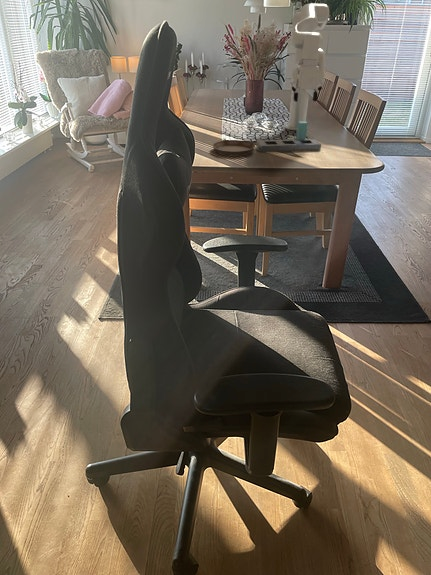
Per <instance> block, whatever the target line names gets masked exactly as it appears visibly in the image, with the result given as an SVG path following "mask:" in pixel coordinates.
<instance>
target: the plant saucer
mask: <svg viewBox="0 0 431 575" xmlns="http://www.w3.org/2000/svg"><path fill="white" fill-rule="evenodd" d="M212 148H213V149H214V151H215V152H216V153H217V154H219V155H222V156H225V157H226V156H229V157H242V156H246V155H249V154H250V153H252V151H254V150H255V148H256V144H254V142H251V141H248V140H247V141H246V140H240V139H230V140H229V139H228V140H219V141H216V142H214V143H213V144H212Z"/></svg>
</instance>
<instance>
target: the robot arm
mask: <svg viewBox="0 0 431 575" xmlns="http://www.w3.org/2000/svg"><path fill="white" fill-rule="evenodd" d="M329 18H330V8H329V6H328V5H327V4H326V3H306V4H304V5H303V6H302V7H301V9H300V11H297V12H296V13H294V15H293V17H292V34H291V45H292V47H293V49H295V53H294V55H295V57H294V61H295V65H296V66H297V67H296V68H294V69H293V70H292V72H291V82H289V86H290V89H291V95H290V105H289V116H288V117H289V118H288V123H287V124H285V128H286V129H287V130H291V131H297V124H298V121H306V122H307V114H308V107H309V106H308V104H309V93H308V91H307V90H313V92H312V93H313V94H312V95H313V96H312V101H313V102H316V101H317V100H318V96H319V95H318V94H319V93H320V91H321V90H322V89H323V87H324V85H325V72H326V70H325V68H326V52H325V51H324V49H323V48H320V47H322V44H323V35H322V33H321V32H317V31H320V30H324V28H325V26H326V25H327V23H328V21H329ZM308 127H309V126H307V130H308V129H309V128H308Z"/></svg>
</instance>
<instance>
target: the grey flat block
mask: <svg viewBox="0 0 431 575" xmlns="http://www.w3.org/2000/svg"><path fill="white" fill-rule="evenodd" d="M255 148H257V149H258V150H259V152H260V153H275V152H276V153H277V152H278V153H280V152H281V153H283V152H284V153H285V152H313V151H314V152H316V151H321V148H322V143H320V142H319V141H318V140H316V138H306V139H296V138H295V139H270V140H269V139H267V140H266V139H265V140H263V139H262V140H256V144H255Z"/></svg>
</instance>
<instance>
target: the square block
mask: <svg viewBox="0 0 431 575" xmlns="http://www.w3.org/2000/svg"><path fill="white" fill-rule="evenodd" d="M308 125H309V123H308V122H307V120H306V121H298V124H297V130H296V134H295V139H307V134H308V129H307V126H308ZM308 127H309V126H308Z"/></svg>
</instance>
